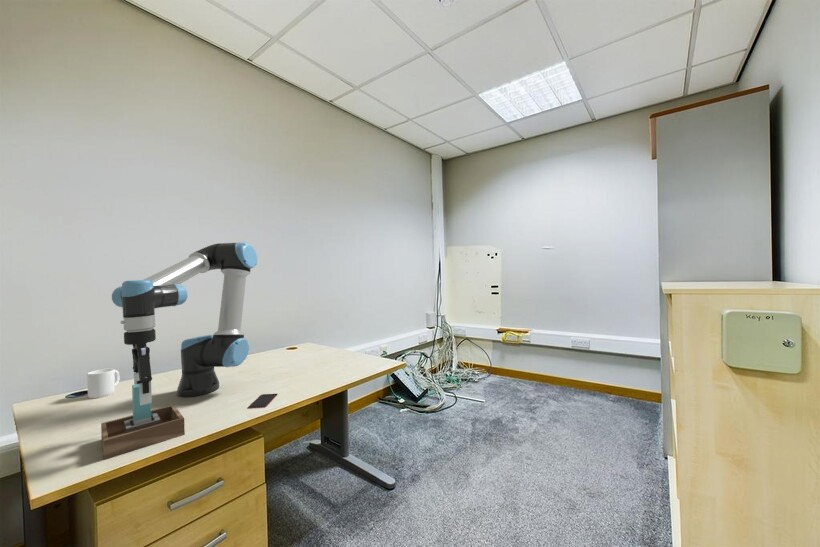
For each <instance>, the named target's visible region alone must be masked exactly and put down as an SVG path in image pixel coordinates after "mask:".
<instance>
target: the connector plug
mask: <svg viewBox="0 0 820 547" xmlns="http://www.w3.org/2000/svg"><path fill="white" fill-rule="evenodd" d="M131 393H132V394H131V395H132V399H131V400H132V415H133V426H134V425H138V424H142V423H146V422H149V421H151V410H152V403H149V404H145V405H141V406H140V395H139V384H135V385H134V384H132V385H131Z"/></svg>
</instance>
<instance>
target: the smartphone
mask: <svg viewBox="0 0 820 547" xmlns="http://www.w3.org/2000/svg"><path fill="white" fill-rule="evenodd" d="M277 396H278V393H264V394H262V393H261V394H260V395H259V396H258V397H257V398H256V399H255V400H254V401H252V402H251V403H250V404H249V405H248V407H247V409H248V410H249V409H250V410H252V409H265V408H267V407H268V406H269V405H270V404H271V403H272V402H273V401H274V399H275V398H276V397H277Z"/></svg>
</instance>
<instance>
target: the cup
mask: <svg viewBox="0 0 820 547" xmlns="http://www.w3.org/2000/svg"><path fill="white" fill-rule="evenodd" d="M86 374H87V375H86V376H87V378H86V379H87V396H88V398H89V399H100V398H99V397H101V398H104V396H105V397H108V395H109V396H111V395H113V394H114V393H115V392H116V386H117V385H118V384H119V382H120V372H119V371H118V370H116V369H115V368H111V367H110V368H102V369H96V370H92V371H89V372H87V373H86ZM115 376H116V378H115ZM110 394H111V395H110Z"/></svg>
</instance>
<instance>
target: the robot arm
mask: <svg viewBox="0 0 820 547" xmlns="http://www.w3.org/2000/svg"><path fill="white" fill-rule="evenodd" d="M257 264H258V255H257V252H256V249H255V248H254V246H253V245H252V244H251V243H248V242H240V241H237V242H224V243H222V242H221V243H220V242H219V243H218V242H217V243H213V244H210V245H207V246H205V247H202V248H201V249H198V250H196V251H194V252H192V253H190V254H189V256H188V257H187V258H185V259H183V260H181V261H179V262H177V263H175V264H173V265H170V266H169V267H167V268H165V269H163V270H162V269H161V271H159V272H156V273H154V274H151V276H148V277H146V278H144V279H140V280H139V279H136V280H124V281H123V282H122V283H121V286H118V287H116V288H115V289H114V290H113V291H112V293H111V301H112V303H113V304H114V305H115V306H116V307H118V308H121V309H122V317H123V318H122V319H123V320H121V321H120V324H121V325H123V331H125V332H124V333H123V343H124V344H125V345H128V346H132V347H133V348H132V349H131V354H132V355H131V356H132V370H133V383H134V384H133V385H135V384H139V395H140V406H141V405H145V404H149V403H151V404H152V403H153V396H152V394H153V392H152V380H153V377H152V376H153V375H152V369H151V368H152V367H151V360H150V359H151V357H150V352H151V349H150V347H149V346H147V343H151V342H155V341H156V340H157V338H156V335H157V334H156V329H155V327H156V313H155V310H156V309H160V308H161V309H162V308H167V307H168V308H169V307H177V306H180V305H183V304H185V303H186V301H187V300H188V296H189V295H188V290H187V288H186V286H184V285H183V284H182V283H184V282H187V281H188V280H190V279H191V278H193V277H196V275H199V274H205V273H208V272H209V271H212V270H220V272H221V273H222V275H223V283H222V293H221V300H220V311H219V316H218V317H219V318H218V324H217V325H218V327H217V331H216V332H214V333H213V334H206V335H202V336H195V337H191V338H187V339H184V340H183V341H182V342H181V345H180V346H181V348H180V358H181V359H180V361H181V364H180V365H181V377H180V380H179V383H178V386H177V389H176V395H177V396H178V397H182V398H189V397H190V398H191V397H197V396H203V395H206V394H210V393H212V392H215V391H217V390H218V389H220V380H219V378H218V376H217V374H216V371H215V367H217V368H221V367H222V368H233V367H238V366H240V365H242V363H244V361H245V360H246V359H247V357H248V355H249V351H250V344H249V341H248V340H247V339H245V334H244V333H243V332H242V320H243V313H244V300H245V299H244V298H245V291H246V290H245V289H246V280H247V279H246V278H247V277H248V276H249V275H250V274H251V269H253V268H255V267H256V265H257Z"/></svg>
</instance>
